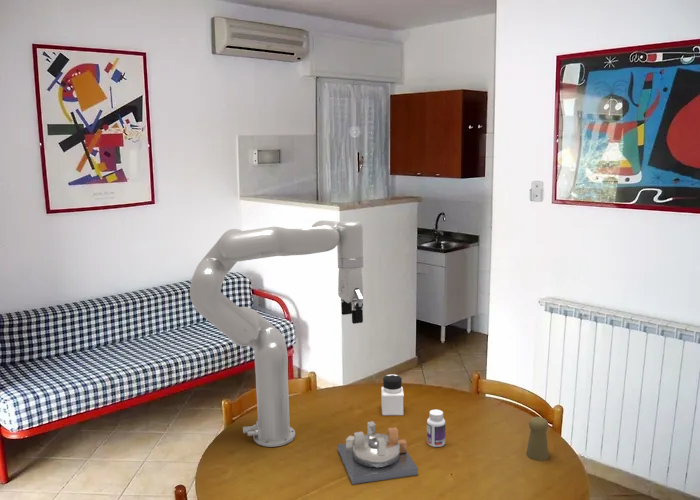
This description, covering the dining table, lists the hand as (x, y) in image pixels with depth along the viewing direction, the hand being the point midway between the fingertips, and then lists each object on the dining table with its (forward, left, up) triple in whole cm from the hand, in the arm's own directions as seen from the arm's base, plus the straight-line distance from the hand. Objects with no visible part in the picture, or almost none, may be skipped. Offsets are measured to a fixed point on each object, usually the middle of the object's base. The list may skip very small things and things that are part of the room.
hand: (352, 318), depth 181 cm
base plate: (+1, -20, -36) cm, 41 cm away
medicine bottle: (+15, +10, -36) cm, 40 cm away
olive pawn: (+46, -28, -36) cm, 65 cm away
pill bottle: (+21, -14, -36) cm, 44 cm away
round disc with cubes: (+3, -20, -34) cm, 39 cm away
